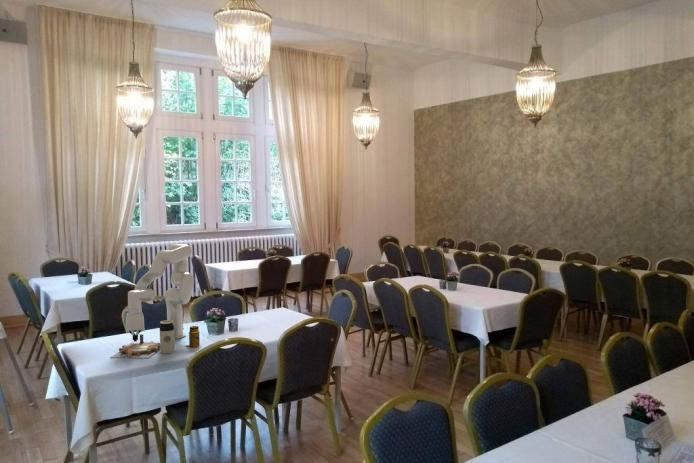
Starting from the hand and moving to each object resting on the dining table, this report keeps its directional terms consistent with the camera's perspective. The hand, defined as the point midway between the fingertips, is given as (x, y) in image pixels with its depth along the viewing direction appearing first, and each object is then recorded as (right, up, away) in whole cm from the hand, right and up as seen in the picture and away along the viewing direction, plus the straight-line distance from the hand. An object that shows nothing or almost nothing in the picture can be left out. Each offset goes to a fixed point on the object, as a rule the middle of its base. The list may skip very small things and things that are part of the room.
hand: (135, 341), depth 327 cm
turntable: (+6, -4, -6) cm, 9 cm away
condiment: (+34, -4, +2) cm, 34 cm away
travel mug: (+22, -5, -9) cm, 25 cm away
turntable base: (+5, -4, -8) cm, 11 cm away
